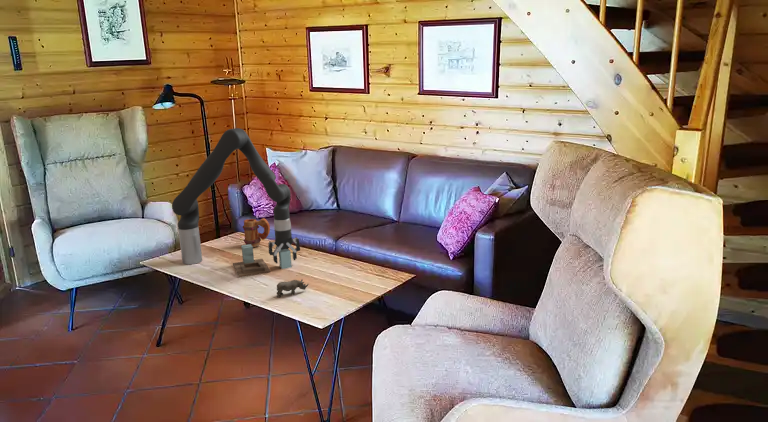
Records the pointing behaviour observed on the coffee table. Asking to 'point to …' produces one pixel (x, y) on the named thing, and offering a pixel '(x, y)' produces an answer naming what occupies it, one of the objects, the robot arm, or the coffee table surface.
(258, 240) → the mug
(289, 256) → the teal block
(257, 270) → the walnut board
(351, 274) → the coffee table surface
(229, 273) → the coffee table surface
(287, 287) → the rhino figurine
